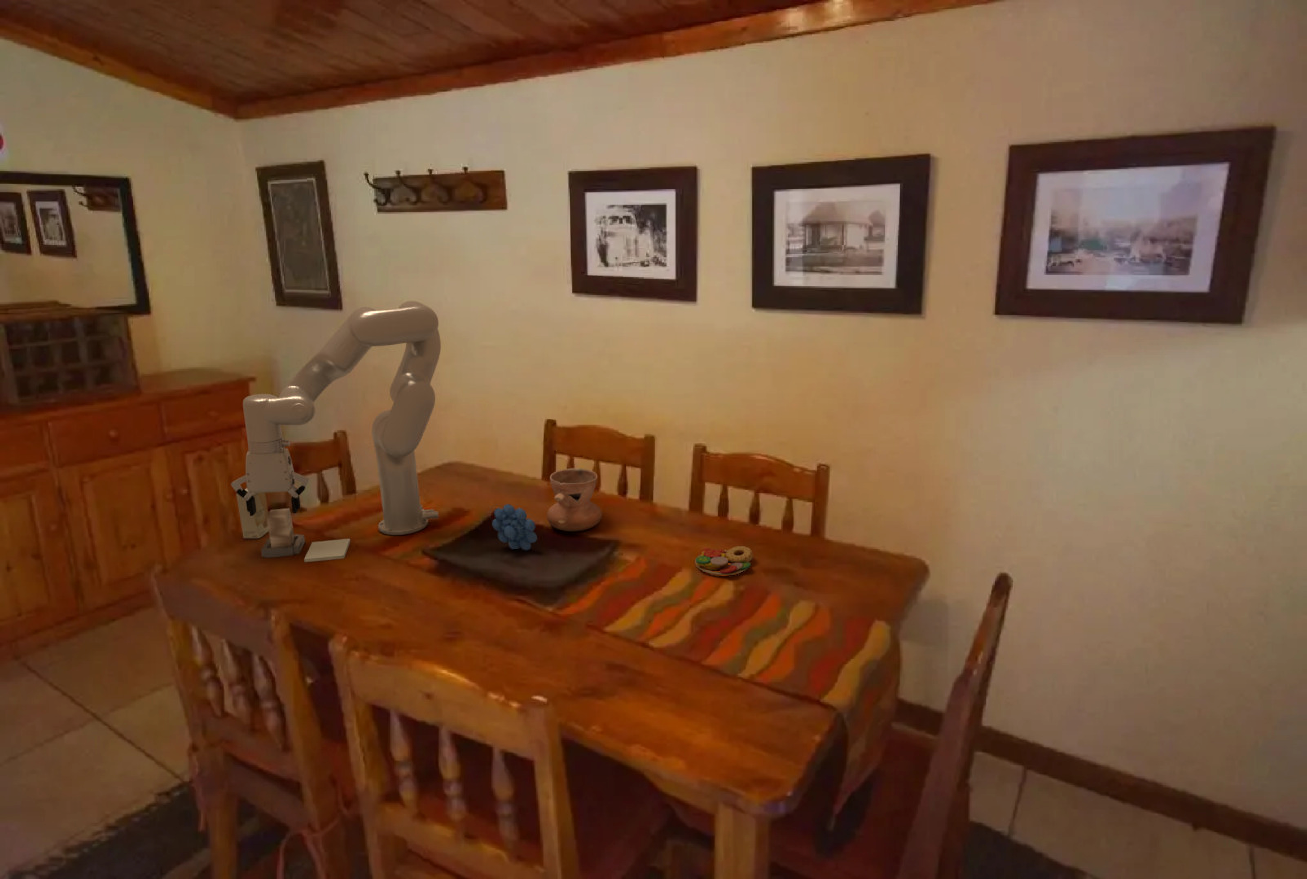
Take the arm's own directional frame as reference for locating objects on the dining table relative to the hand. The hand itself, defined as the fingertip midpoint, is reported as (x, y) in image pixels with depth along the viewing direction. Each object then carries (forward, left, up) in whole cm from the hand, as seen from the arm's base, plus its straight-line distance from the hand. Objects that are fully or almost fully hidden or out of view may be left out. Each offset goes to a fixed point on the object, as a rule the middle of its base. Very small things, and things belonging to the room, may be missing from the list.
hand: (274, 512), depth 188 cm
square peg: (-1, 0, -10) cm, 10 cm away
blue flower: (-57, +15, -10) cm, 60 cm away
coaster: (-12, +4, -10) cm, 16 cm away
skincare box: (+8, -12, -10) cm, 18 cm away
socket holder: (-1, 0, -10) cm, 10 cm away
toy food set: (-104, +35, -11) cm, 111 cm away
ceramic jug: (-74, +2, -10) cm, 74 cm away
